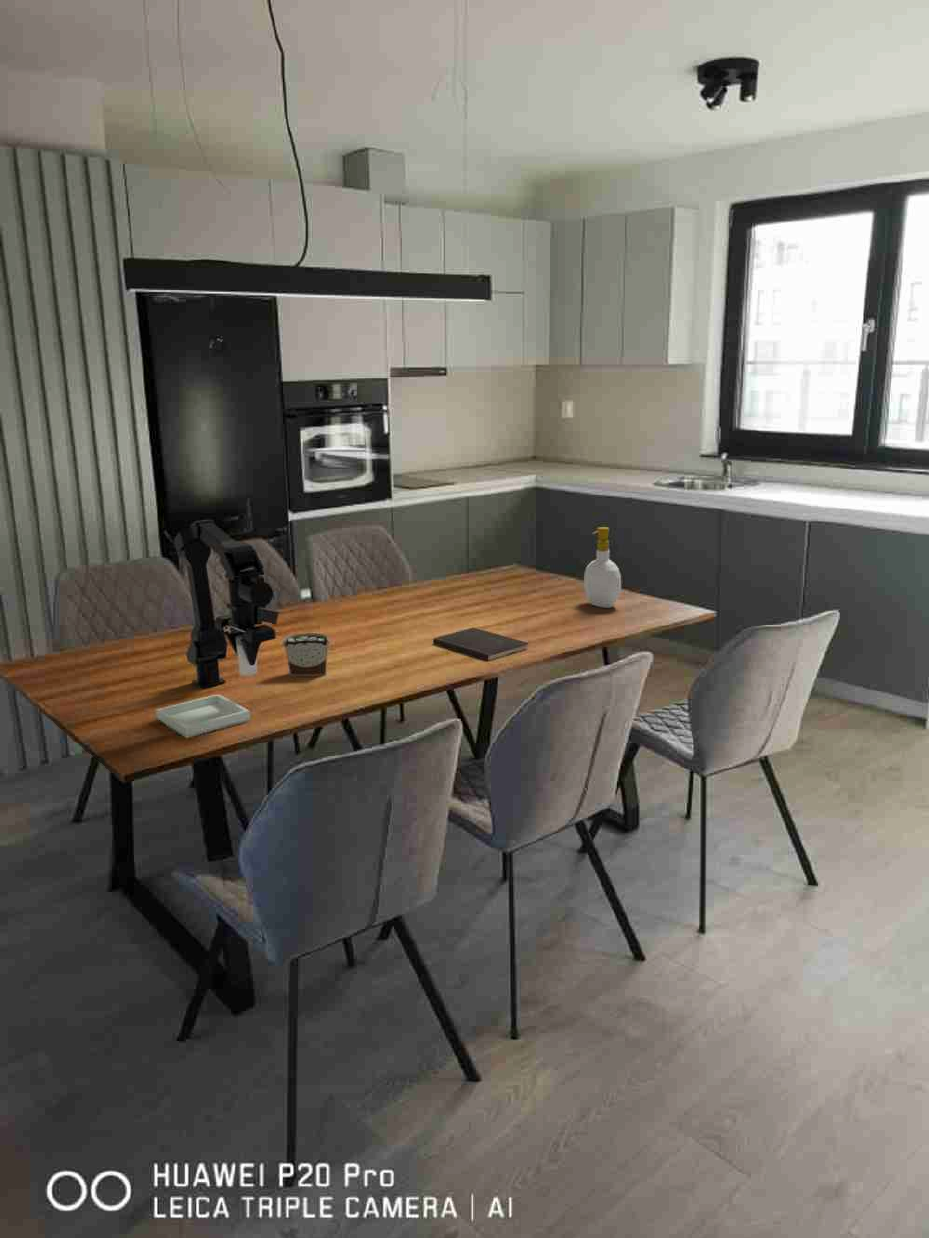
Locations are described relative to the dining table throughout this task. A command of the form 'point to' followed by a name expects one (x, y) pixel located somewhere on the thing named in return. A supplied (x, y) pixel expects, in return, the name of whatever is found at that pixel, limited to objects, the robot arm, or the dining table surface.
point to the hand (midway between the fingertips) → (247, 662)
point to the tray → (203, 715)
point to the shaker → (244, 660)
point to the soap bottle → (602, 575)
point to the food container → (306, 653)
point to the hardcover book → (480, 643)
